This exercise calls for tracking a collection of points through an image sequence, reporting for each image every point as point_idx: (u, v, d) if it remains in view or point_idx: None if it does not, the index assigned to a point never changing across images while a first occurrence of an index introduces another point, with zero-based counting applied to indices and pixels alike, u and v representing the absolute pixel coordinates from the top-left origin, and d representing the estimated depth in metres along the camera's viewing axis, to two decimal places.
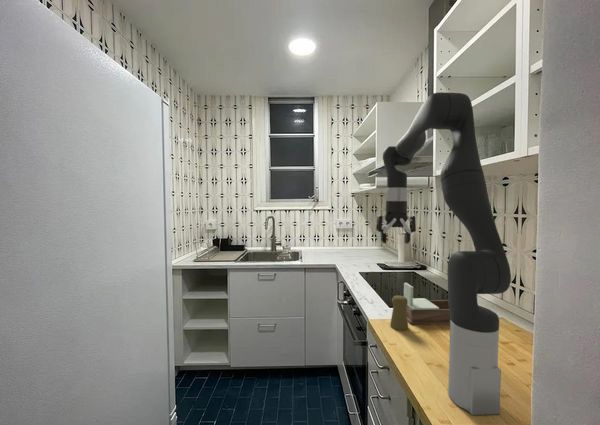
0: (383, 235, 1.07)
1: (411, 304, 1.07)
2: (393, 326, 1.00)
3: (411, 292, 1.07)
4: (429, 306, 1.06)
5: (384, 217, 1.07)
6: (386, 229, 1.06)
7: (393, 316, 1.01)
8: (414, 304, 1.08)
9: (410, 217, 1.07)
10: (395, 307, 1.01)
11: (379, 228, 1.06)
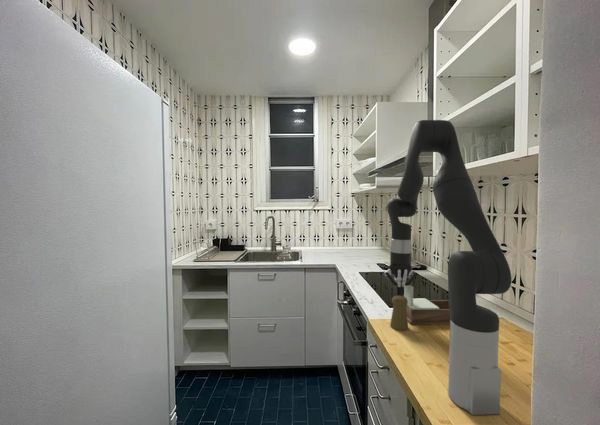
0: (398, 288, 1.09)
1: (411, 304, 1.07)
2: (393, 326, 1.00)
3: (411, 292, 1.07)
4: (429, 306, 1.06)
5: (389, 270, 1.09)
6: (399, 282, 1.08)
7: (393, 316, 1.01)
8: (414, 304, 1.08)
9: (413, 271, 1.09)
10: (395, 307, 1.01)
11: (393, 283, 1.08)
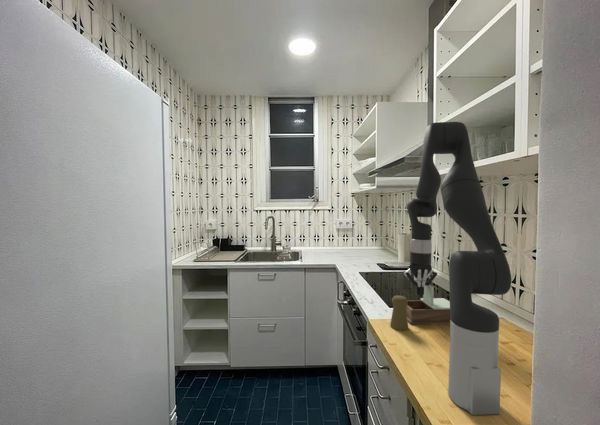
0: (418, 288, 1.09)
1: (432, 304, 1.07)
2: (393, 326, 1.00)
3: (432, 292, 1.07)
4: None
5: (409, 270, 1.09)
6: (419, 282, 1.09)
7: (393, 316, 1.01)
8: (434, 304, 1.09)
9: (433, 271, 1.10)
10: (395, 307, 1.01)
11: (413, 282, 1.09)
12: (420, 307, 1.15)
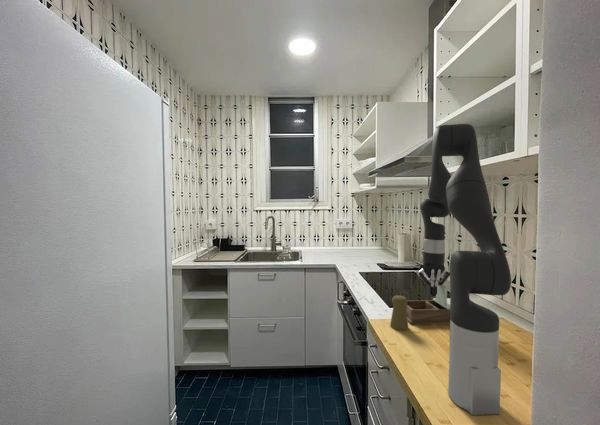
0: (431, 288, 1.09)
1: (445, 304, 1.08)
2: (393, 326, 1.00)
3: (445, 292, 1.07)
4: None
5: (423, 270, 1.09)
6: (432, 282, 1.09)
7: (393, 316, 1.01)
8: (447, 304, 1.09)
9: (446, 271, 1.10)
10: (395, 307, 1.01)
11: (426, 282, 1.09)
12: (420, 307, 1.15)
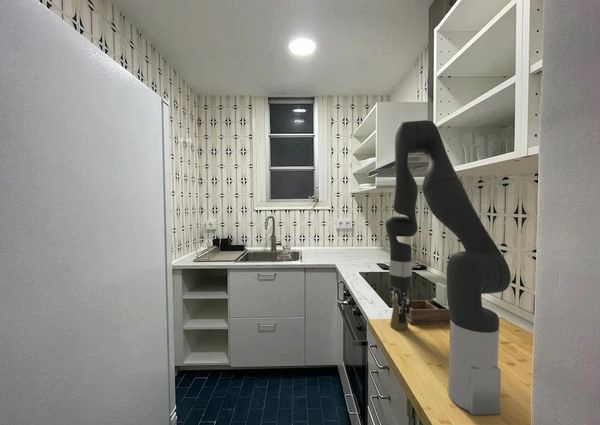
0: None
1: (445, 304, 1.08)
2: (393, 326, 1.00)
3: (445, 292, 1.07)
4: None
5: None
6: None
7: (393, 316, 1.01)
8: (447, 304, 1.09)
9: None
10: (395, 307, 1.01)
11: (391, 300, 1.06)
12: (420, 307, 1.15)
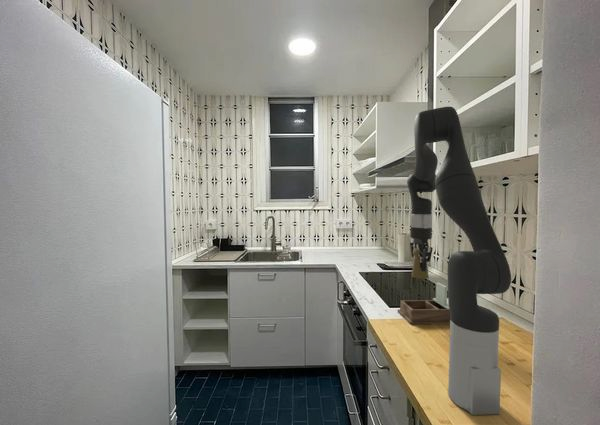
0: None
1: (445, 304, 1.08)
2: (414, 275, 1.08)
3: (445, 292, 1.07)
4: None
5: (414, 243, 1.14)
6: None
7: (414, 266, 1.09)
8: (447, 304, 1.09)
9: None
10: (416, 257, 1.08)
11: (411, 254, 1.14)
12: (420, 307, 1.15)
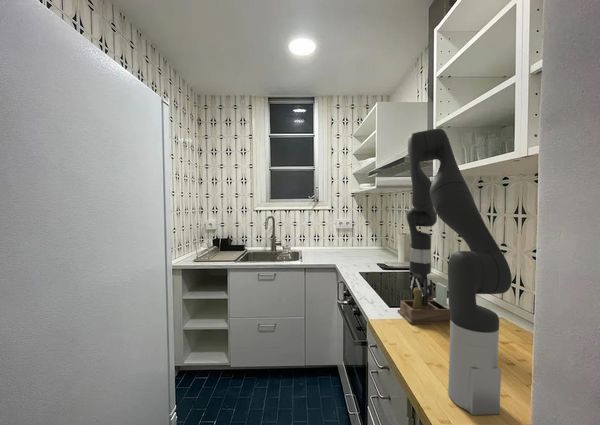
0: None
1: (445, 304, 1.08)
2: None
3: (445, 292, 1.07)
4: None
5: (413, 274, 1.14)
6: (411, 285, 1.14)
7: (414, 306, 1.08)
8: (447, 304, 1.09)
9: None
10: (416, 298, 1.08)
11: (409, 282, 1.17)
12: None
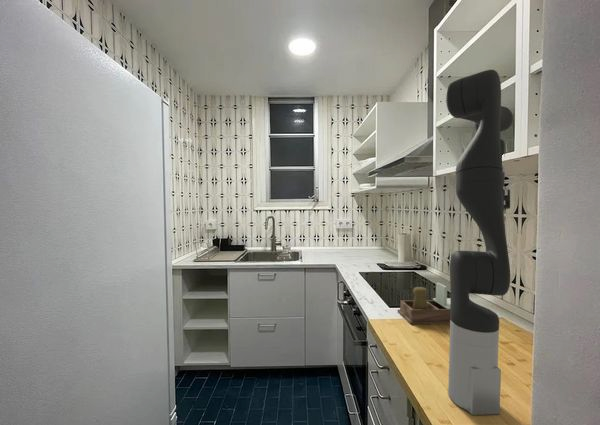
0: None
1: (445, 304, 1.08)
2: None
3: (445, 292, 1.07)
4: None
5: None
6: None
7: (414, 306, 1.08)
8: (447, 304, 1.09)
9: None
10: (416, 298, 1.08)
11: None
12: None
